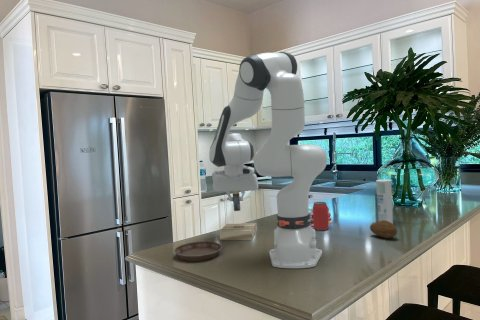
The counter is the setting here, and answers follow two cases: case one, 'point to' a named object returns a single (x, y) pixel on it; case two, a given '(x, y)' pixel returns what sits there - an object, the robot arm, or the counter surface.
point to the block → (238, 231)
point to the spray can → (384, 200)
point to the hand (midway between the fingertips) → (236, 201)
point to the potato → (384, 229)
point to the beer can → (320, 216)
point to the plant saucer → (198, 251)
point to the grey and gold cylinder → (236, 201)
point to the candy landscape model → (312, 216)
